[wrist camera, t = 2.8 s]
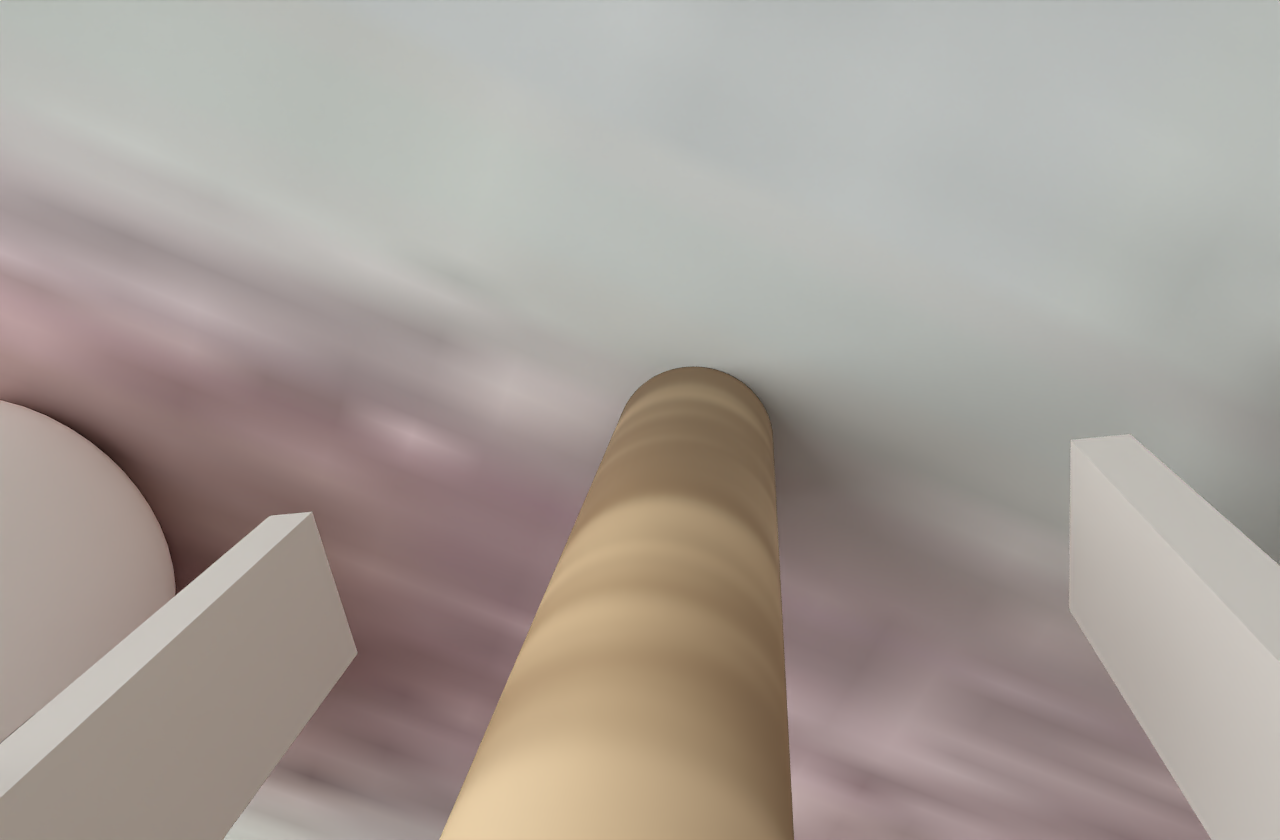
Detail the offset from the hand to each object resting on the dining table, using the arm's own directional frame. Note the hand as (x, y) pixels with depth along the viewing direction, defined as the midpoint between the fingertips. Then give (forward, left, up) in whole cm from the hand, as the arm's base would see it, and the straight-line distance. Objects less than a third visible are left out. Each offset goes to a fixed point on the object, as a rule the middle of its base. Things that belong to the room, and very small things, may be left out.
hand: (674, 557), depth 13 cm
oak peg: (0, 0, -5) cm, 5 cm away
